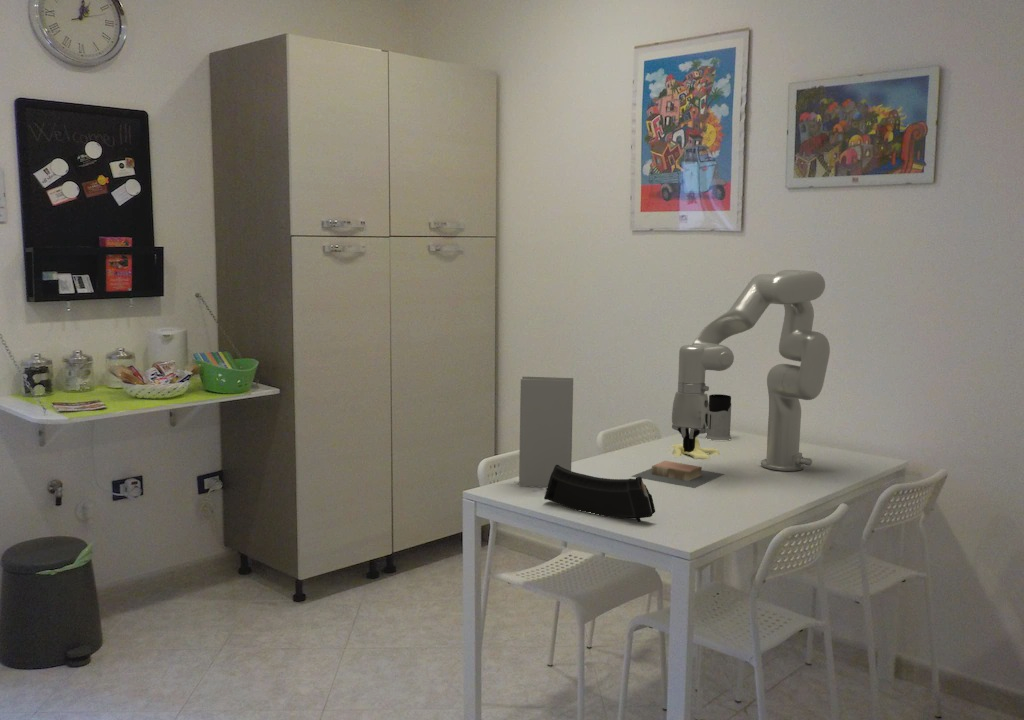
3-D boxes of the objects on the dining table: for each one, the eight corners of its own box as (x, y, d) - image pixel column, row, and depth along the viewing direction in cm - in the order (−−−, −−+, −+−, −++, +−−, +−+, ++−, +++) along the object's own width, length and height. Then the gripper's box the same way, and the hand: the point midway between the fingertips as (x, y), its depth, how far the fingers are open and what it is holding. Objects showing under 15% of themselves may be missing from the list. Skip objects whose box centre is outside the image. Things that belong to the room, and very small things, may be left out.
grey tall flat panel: (570, 483, 264) (573, 377, 260) (570, 488, 258) (572, 380, 255) (520, 481, 265) (522, 376, 261) (519, 486, 260) (520, 379, 256)
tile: (664, 469, 280) (701, 475, 272) (651, 474, 273) (689, 480, 266) (664, 460, 279) (701, 466, 272) (651, 465, 273) (689, 471, 266)
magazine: (536, 468, 243) (635, 451, 226) (543, 466, 246) (642, 449, 228) (551, 533, 243) (651, 521, 225) (558, 530, 245) (658, 518, 228)
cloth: (675, 445, 317) (676, 427, 316) (728, 452, 307) (729, 434, 307) (648, 457, 299) (649, 439, 298) (704, 466, 289) (705, 446, 288)
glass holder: (734, 441, 323) (736, 398, 321) (693, 441, 322) (695, 398, 320) (727, 435, 331) (729, 394, 329) (687, 435, 331) (689, 393, 329)
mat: (724, 475, 275) (724, 474, 275) (694, 489, 259) (694, 487, 259) (663, 465, 286) (663, 463, 286) (631, 477, 271) (631, 476, 270)
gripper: (721, 389, 266) (718, 452, 268) (673, 384, 275) (671, 445, 277) (709, 392, 260) (707, 457, 262) (661, 387, 269) (659, 449, 271)
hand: (688, 451), depth 270 cm, fingers closed
